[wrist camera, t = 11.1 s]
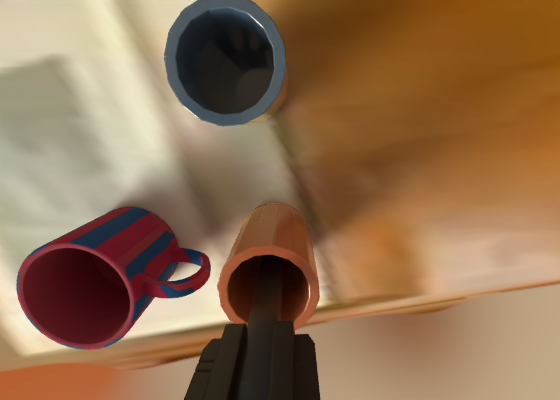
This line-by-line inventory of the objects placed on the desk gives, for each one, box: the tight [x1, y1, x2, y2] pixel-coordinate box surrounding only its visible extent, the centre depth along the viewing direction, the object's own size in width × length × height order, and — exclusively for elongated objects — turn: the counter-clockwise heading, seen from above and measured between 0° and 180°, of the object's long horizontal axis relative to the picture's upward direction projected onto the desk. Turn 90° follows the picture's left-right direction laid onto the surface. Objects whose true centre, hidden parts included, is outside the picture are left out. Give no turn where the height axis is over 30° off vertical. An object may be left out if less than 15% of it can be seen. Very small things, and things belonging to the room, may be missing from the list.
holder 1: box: [164, 0, 288, 126], centre depth 17 cm, size 5×5×8 cm
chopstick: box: [232, 254, 284, 400], centre depth 13 cm, size 1×1×13 cm
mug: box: [17, 207, 211, 350], centre depth 20 cm, size 7×10×7 cm
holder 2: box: [217, 203, 320, 330], centre depth 19 cm, size 5×5×8 cm
